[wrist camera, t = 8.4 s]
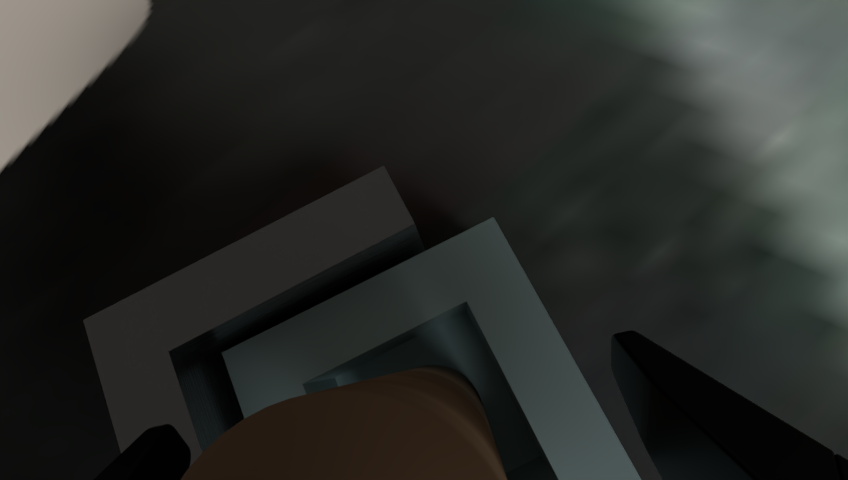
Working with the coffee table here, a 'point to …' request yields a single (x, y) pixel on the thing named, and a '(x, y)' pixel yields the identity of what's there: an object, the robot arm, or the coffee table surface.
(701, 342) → the coffee table surface
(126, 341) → the corner stop
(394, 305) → the socket block
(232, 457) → the dowel
